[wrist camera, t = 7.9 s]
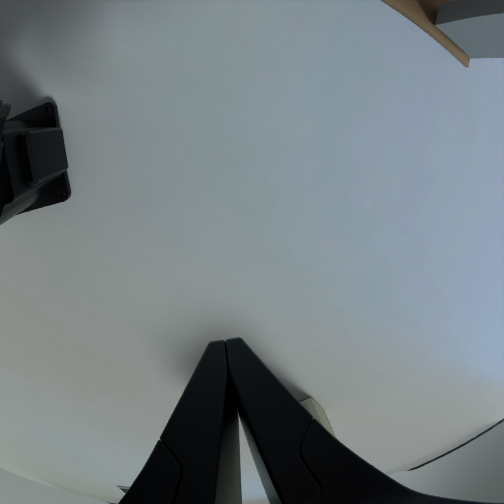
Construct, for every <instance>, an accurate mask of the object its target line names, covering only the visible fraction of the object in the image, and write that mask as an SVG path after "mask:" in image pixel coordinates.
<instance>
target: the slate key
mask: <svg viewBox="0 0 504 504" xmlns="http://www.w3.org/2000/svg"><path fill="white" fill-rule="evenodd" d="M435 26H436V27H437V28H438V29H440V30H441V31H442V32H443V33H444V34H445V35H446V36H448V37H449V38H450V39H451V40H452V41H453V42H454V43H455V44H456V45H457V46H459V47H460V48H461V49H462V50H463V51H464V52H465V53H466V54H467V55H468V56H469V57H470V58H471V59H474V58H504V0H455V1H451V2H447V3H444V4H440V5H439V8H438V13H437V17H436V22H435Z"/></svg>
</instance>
